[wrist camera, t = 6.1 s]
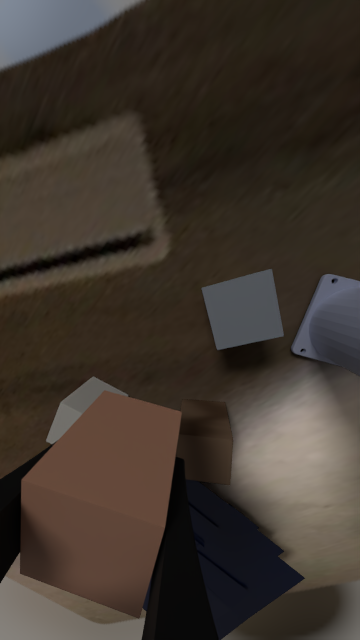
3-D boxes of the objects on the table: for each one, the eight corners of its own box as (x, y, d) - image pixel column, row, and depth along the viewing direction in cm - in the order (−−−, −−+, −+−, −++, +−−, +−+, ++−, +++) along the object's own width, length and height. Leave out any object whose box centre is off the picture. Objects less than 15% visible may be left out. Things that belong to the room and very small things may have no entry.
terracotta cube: (181, 411, 10) (165, 527, 5) (165, 474, 11) (139, 619, 6) (104, 390, 10) (21, 479, 6) (96, 452, 12) (20, 573, 7)
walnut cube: (225, 401, 20) (232, 439, 15) (223, 438, 20) (230, 485, 16) (182, 398, 20) (176, 434, 15) (182, 434, 21) (177, 478, 16)
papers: (199, 620, 26) (196, 671, 22) (54, 492, 30) (32, 518, 26) (304, 533, 20) (322, 583, 17) (109, 390, 24) (91, 405, 21)
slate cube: (250, 274, 17) (271, 268, 12) (260, 322, 17) (283, 335, 12) (201, 288, 17) (201, 288, 13) (212, 333, 18) (217, 350, 13)
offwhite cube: (128, 394, 21) (107, 426, 16) (113, 425, 22) (89, 464, 17) (93, 376, 21) (60, 402, 16) (80, 407, 22) (45, 440, 17)
